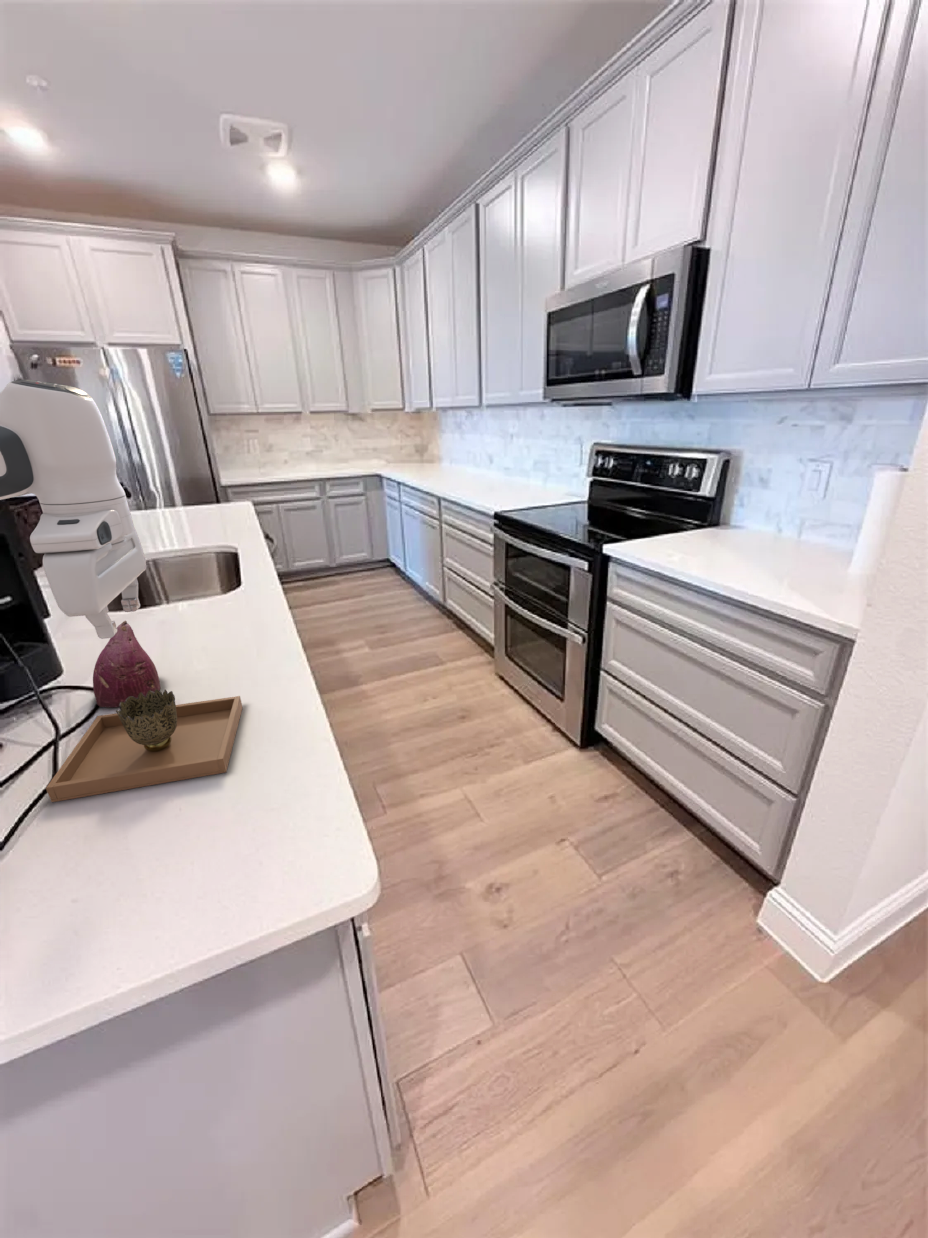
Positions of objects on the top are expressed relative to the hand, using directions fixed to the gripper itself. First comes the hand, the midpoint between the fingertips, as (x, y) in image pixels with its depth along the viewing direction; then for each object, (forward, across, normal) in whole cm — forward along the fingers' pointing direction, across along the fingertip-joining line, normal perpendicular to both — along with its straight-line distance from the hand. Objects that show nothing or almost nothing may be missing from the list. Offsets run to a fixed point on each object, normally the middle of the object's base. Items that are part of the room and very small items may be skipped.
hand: (121, 622), depth 69 cm
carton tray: (+21, 0, 0) cm, 21 cm away
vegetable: (+21, -20, -10) cm, 31 cm away
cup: (+21, 0, 0) cm, 21 cm away
